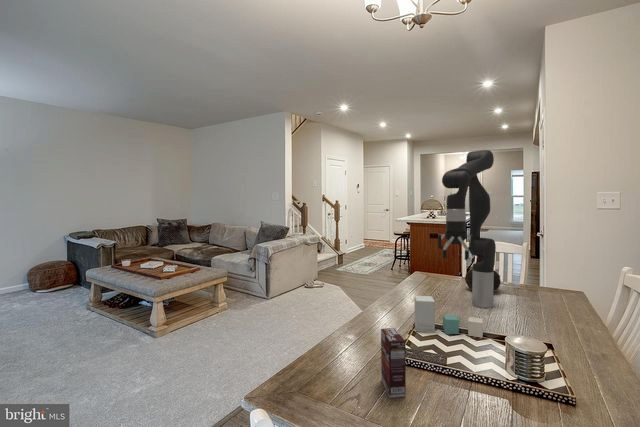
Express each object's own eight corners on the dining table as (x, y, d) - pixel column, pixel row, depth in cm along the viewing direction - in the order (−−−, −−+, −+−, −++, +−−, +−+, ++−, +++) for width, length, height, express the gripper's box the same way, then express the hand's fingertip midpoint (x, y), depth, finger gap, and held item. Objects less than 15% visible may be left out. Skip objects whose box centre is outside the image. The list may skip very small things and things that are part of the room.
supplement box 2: (435, 333, 129) (435, 301, 128) (415, 331, 130) (415, 300, 130) (432, 325, 136) (432, 296, 135) (414, 324, 138) (414, 295, 137)
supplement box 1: (380, 380, 96) (380, 328, 96) (396, 379, 97) (396, 327, 96) (389, 398, 88) (388, 341, 87) (406, 397, 88) (406, 340, 87)
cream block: (468, 331, 130) (469, 316, 130) (482, 333, 128) (483, 318, 128) (468, 336, 126) (468, 321, 125) (482, 338, 123) (482, 323, 123)
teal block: (442, 329, 133) (442, 314, 132) (455, 329, 132) (455, 315, 132) (445, 334, 128) (445, 319, 127) (458, 335, 127) (459, 319, 127)
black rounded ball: (501, 297, 172) (502, 244, 170) (464, 293, 179) (465, 243, 178) (499, 288, 188) (500, 240, 186) (465, 285, 196) (465, 238, 194)
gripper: (473, 219, 135) (473, 258, 136) (437, 218, 140) (437, 256, 141) (476, 220, 128) (475, 262, 129) (437, 220, 133) (437, 260, 134)
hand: (455, 259), depth 135 cm, fingers open, 7 cm apart
